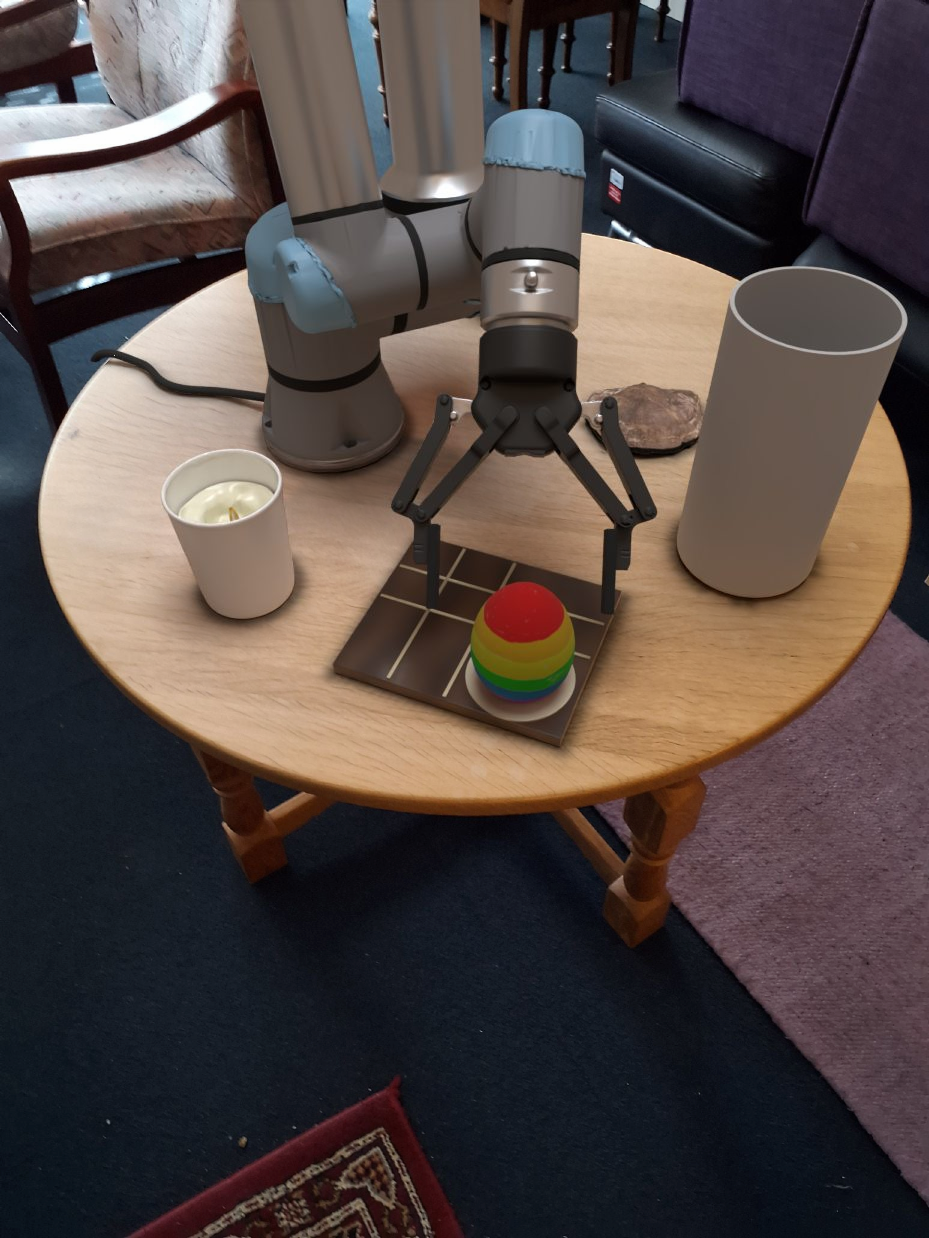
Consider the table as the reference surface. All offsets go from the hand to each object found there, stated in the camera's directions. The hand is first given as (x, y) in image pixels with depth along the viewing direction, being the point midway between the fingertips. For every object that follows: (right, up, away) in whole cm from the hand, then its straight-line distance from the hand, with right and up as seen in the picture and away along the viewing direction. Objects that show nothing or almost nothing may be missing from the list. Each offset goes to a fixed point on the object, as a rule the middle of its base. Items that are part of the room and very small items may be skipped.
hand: (519, 611), depth 70 cm
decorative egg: (0, -5, +4) cm, 6 cm away
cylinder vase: (+22, +5, +15) cm, 27 cm away
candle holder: (-24, +2, +13) cm, 27 cm away
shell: (+15, +20, +28) cm, 38 cm away
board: (-3, -2, +8) cm, 9 cm away
